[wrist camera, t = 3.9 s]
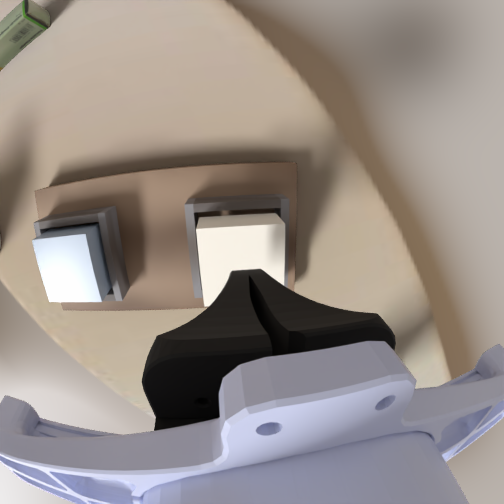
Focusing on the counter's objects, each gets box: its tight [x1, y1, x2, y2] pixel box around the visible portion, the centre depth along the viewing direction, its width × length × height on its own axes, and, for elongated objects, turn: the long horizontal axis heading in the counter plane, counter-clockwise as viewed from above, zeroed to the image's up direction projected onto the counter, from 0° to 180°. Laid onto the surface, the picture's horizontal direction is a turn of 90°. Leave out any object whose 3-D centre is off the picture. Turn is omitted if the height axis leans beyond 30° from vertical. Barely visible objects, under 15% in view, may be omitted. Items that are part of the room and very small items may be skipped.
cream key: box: [196, 213, 285, 307], centre depth 15 cm, size 4×4×2 cm
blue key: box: [32, 223, 112, 302], centre depth 15 cm, size 4×4×2 cm
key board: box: [34, 162, 297, 311], centre depth 18 cm, size 10×19×4 cm, turn 91°
